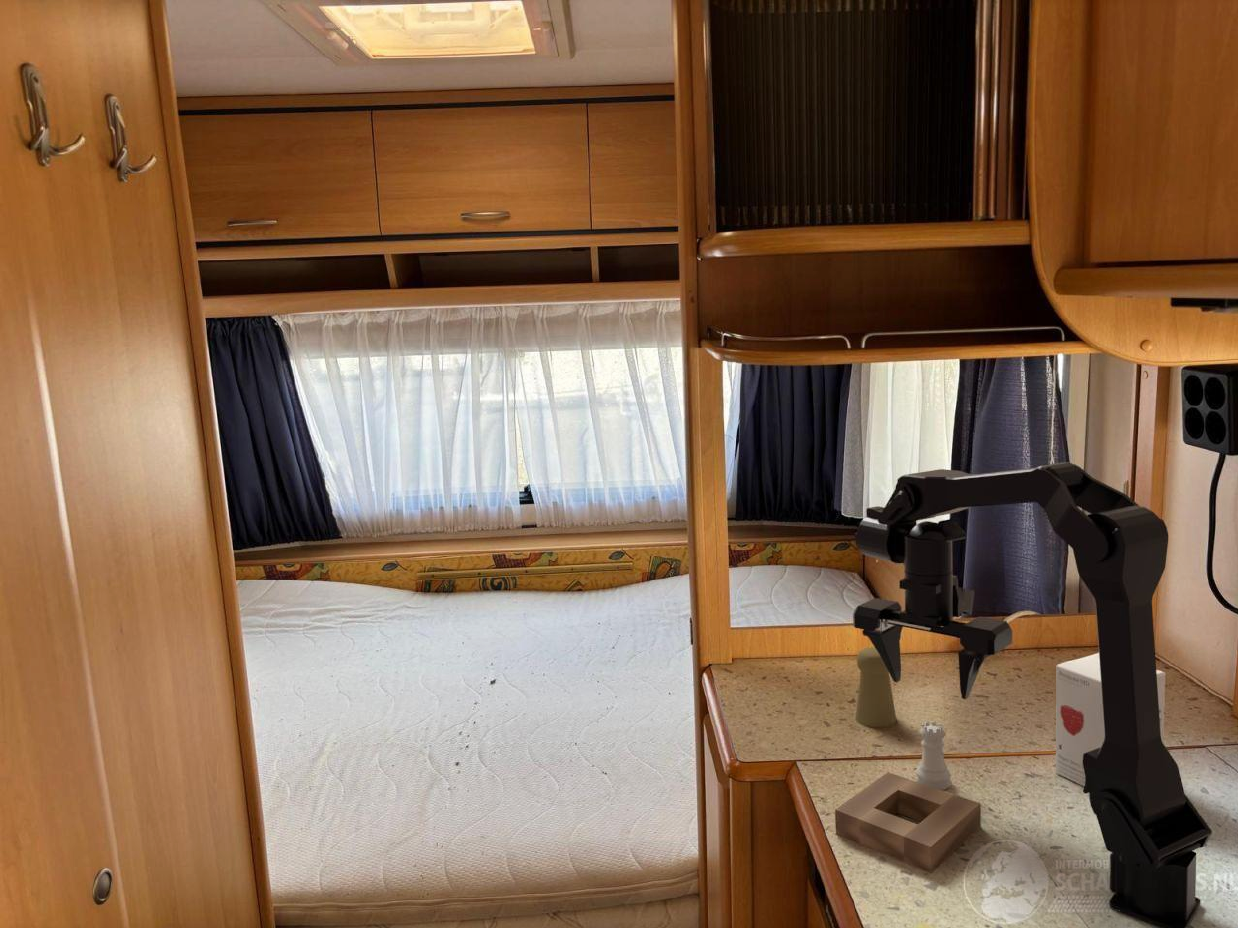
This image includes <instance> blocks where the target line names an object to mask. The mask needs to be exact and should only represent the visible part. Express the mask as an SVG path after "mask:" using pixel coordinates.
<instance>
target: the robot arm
mask: <svg viewBox="0 0 1238 928" xmlns="http://www.w3.org/2000/svg"><path fill="white" fill-rule="evenodd" d="M1030 503H1037V504H1038V506H1040V507H1041V508H1042V509H1043V510H1044V513H1045V515H1046V516H1047V519H1048V522H1049V525H1050V526H1051V528H1052V531H1054V533H1055V534H1057V536H1058V537H1060V538H1061V539H1062V540H1063V541H1064V542H1065V543H1066V544H1067V545H1068V546H1069V547H1070V548H1071V549H1072V553H1073V557H1074V561H1075V562H1074V563H1075V565H1076V569H1077V570H1076V571H1077V573H1078V576H1079V577H1080V579H1081V581H1082V582H1083V583H1084V585H1085V586H1086V587H1087V589H1088V590H1089V592H1090V593H1091V595H1092V597H1093V599H1094V602H1095V615H1096V628H1097V630H1096V631H1097V642H1098V646H1097V647H1098V653H1099V660H1100V675H1101V689H1102V703H1103V718H1104V732H1105V736H1104V741H1103V744H1102V746H1101V747H1100V748H1097V749H1095V750H1092V751H1089V752H1087V753H1084V754H1083V767H1084V772H1085V786H1083V789H1082V793H1083V794H1085V795H1086V794H1088V796H1089V804H1090V807H1091V810H1092V812H1093V814H1094V815H1095V816H1096V819H1097V823H1098V826H1099V829H1100V832H1101V835H1102V838H1103V842H1104V846H1105V848H1106V851H1108V852H1110V855H1109V859H1110V860H1109V890H1110V892H1111V893H1113V895H1112V897H1111V898H1110V899H1109V901H1108V903H1109V904H1108V905H1109V907H1110V908H1111V909H1113V910H1116V911H1118V912H1121V913H1124V914H1127V915H1129V916H1131V917H1135V918H1136V919H1139V920H1142V921H1144V922H1147V923H1150V924H1153V925H1155V926H1158V927H1160V928H1188V927H1189V925H1190V923H1191V922H1192V920H1193V918H1195V915H1196V913H1197V912H1198V910H1199V908H1200V907H1201V899H1200V898H1198V897H1196V884H1197V883H1196V881H1197V852H1195V850H1197V849H1199V848H1201V849H1202V848H1204V847H1206V846H1207V844H1208V842H1209V840H1210V837H1211V835H1213V830H1212V829H1211V828H1210V826H1209V825H1208V823H1207V822H1206V821H1205V820H1204V818H1203V816H1202V815H1201V814H1200V813H1199V811H1198V810H1197V809H1196V807H1195V806H1194V804H1193V803H1192V801H1190V800H1191V799H1189V798H1188V797H1187V795H1186V794H1185V789H1184V786H1183V782H1182V776H1181V772H1180V768H1179V765H1178V763H1177V761H1176V760H1175V759H1174V757H1173V755H1172V754H1171V753H1170V751H1169V749H1167V747H1166V746H1165V744H1164V741H1163V742H1162V740H1161V733H1160V718H1159V703H1158V688H1157V673H1156V670H1157V662H1156V660H1157V659H1156V645H1155V631H1154V630H1155V629H1154V628H1155V627H1154V614H1153V597H1154V595H1155V592H1156V590H1157V587H1158V585H1159V583H1160V580H1161V579H1162V576H1163V575H1164V571H1165V569H1166V565H1167V564H1166V563H1167V555H1168V554H1167V553H1168V547H1169V532H1168V527H1167V525H1166V523H1165V521H1164V519H1162V518H1160V517H1159V516H1158V515H1157V514H1156V513H1155V512H1154V511H1152V510H1151V509H1149V508H1147V507H1145V506H1141V505H1139V504H1138V503H1137V502H1136V501H1134V500H1133V499H1132V498H1131V497H1130V496H1129V495H1127V494H1125V493H1124V492H1122V491H1120V490H1118V489H1116V488H1114V487H1112V486H1110V485H1108V484H1106V483H1104V482H1103V481H1101V480H1098V479H1096V478H1094V477H1092V475H1090V474H1089V473H1088V472H1086V470H1084V469H1083V468H1082V467H1080V466H1079V465H1077V464H1075V463H1071V462H1070V461H1069V462H1068V461H1061V462H1057V463H1051V464H1045V465H1040V466H1037V467H1029V468H1023V469H1022V468H1021V469H1014V470H1013V469H1012V470H1003V471H996V472H985V473H984V472H983V473H977V474H976V473H975V474H974V473H973V474H972V473H968V472H965V471H962V470H956V469H955V470H953V469H944V468H939V469H933V470H927V471H921V472H914V473H908V474H904V475H901V476H900V477H898V478H897V481H896V485H895V487H894V490H893V492H892V494H891V495H890V497H889V500H888V501H887V503H886V505H885V506H871V507H868V508H866V511H865V512H866V517H865V516H864V518H863V519H862V520H861V521H860V523H859V524H858V526H857V529H856V532H855V534H854V541H855V546H856V548H857V550H858V551H859V552H860V553H861V554H862V555H864V556H866V557H867V556H868V557H871V558H874V559H877V560H882V561H885V562H889V563H894V564H903V569H904V573H903V574H904V578H902V579H900V580H899V589H902V590H904V610H902V605H900V603H899V602H898V601H894V600H889V599H888V600H887V599H882V598H877V597H874V598H872V599H870V600H868V601H866V602H864V603H861V604H859V605H857V606H856V608H855V609H854V611H853V613H852V620H853V621H852V622H853V625H852V626H853V628H855V629H860V630H861V631H862V632H861V633H862V636H864V637H868V639H869V641H871V644H872V645H873V647H875V648H876V650H877V651H878V653H879V655H880V656H881V658H882V660H883V662H884V664H885V666H886V668H887V670H888V671H889V676H890V677H891V679H892V681H893V682H894V683H898V682H900V681H901V678H902V677H901V676H902V662H901V661H902V660H901V642H900V639H901V635H902V631H903V628H908V629H912V630H917V631H922V632H928V633H932V634H938V635H944V636H948V637H954V638H959V644H960V645H961V646H962V647H963V648H962V649H961V650H959V651H958V652H957V653H958V672H959V673H958V674H959V675H958V677H959V688H960V694H961V699H962V700H968V698H969V697H970V696H971V695H970V694H971V692H972V690H973V687H974V685H975V681H976V679H977V677H978V674H979V671H980V669H981V666H982V665H983V663H984V661H985V660H986V659H987V658H988V657H990V656H994V655H996V654H998V653H999V652H1001V651H1003V650H1004V649H1006V648H1007V647H1009V646H1010V645H1012V644H1013V629H1012V627H1011V626H1010V624H1009V623H1008V622H1007V621H1006V620H1003V619H1002V620H1001V619H997V618H991V617H985V616H977V617H976V618H974V619H972V620H970V621H968V622H962V621H956V620H954V619H955V618H960V617H961V616H963V615H970V616H971V615H972V612H973V605H974V604H973V603H974V598H975V590H972V589H968V588H965V587H961V586H960V587H959V578H958V575H954V574H953V541H958V540H964V539H966V538H967V533H966V532H965V531H964V529H963V528H961V527H960V526H959V525H957V523H956V522H955V520H954V519H953V518H949V519H943V520H939V521H938V522H935V521H929V520H928V519H933V518H936V517H939V516H946V515H950V514H954V513H958V512H961V511H964V510H967V509H970V508H972V507H973V508H974V507H985V506H986V507H987V506H1002V505H1015V504H1017V505H1018V504H1030ZM1082 510H1083V511H1082ZM1084 511H1086V512H1088V513H1089V514H1086V513H1085V512H1084ZM922 520H928V521H922ZM917 521H921V522H919V523H918V524H917Z"/></svg>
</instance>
